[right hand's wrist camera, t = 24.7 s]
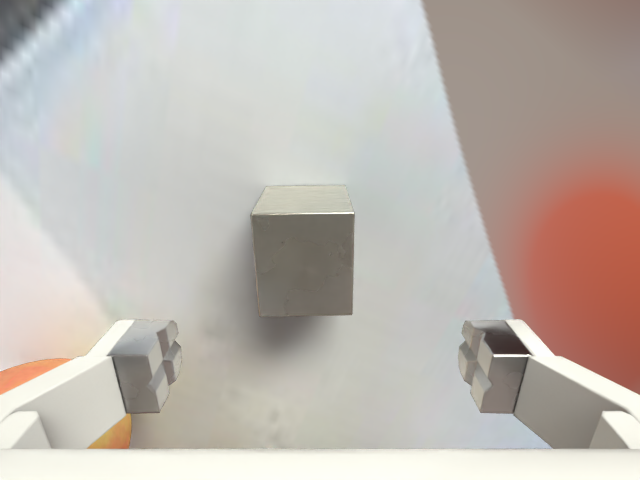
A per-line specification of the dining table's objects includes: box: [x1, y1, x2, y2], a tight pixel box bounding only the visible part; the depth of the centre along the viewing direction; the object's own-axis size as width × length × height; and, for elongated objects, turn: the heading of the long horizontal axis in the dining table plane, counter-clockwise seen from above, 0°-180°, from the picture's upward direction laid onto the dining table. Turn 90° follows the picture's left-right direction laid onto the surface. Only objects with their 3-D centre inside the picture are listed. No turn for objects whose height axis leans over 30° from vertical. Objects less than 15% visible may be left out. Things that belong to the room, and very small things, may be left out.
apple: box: [0, 359, 131, 449], centre depth 19 cm, size 10×10×10 cm
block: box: [251, 185, 355, 317], centre depth 18 cm, size 4×5×5 cm
